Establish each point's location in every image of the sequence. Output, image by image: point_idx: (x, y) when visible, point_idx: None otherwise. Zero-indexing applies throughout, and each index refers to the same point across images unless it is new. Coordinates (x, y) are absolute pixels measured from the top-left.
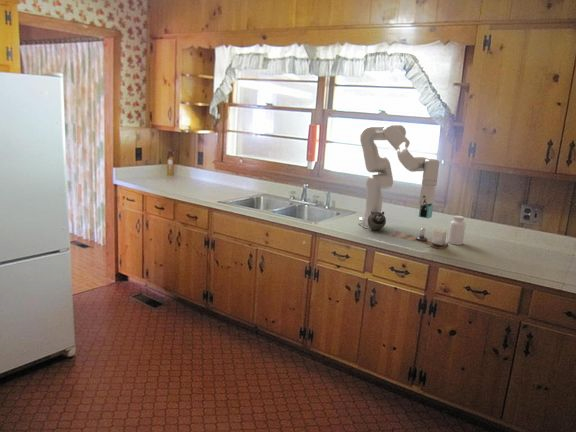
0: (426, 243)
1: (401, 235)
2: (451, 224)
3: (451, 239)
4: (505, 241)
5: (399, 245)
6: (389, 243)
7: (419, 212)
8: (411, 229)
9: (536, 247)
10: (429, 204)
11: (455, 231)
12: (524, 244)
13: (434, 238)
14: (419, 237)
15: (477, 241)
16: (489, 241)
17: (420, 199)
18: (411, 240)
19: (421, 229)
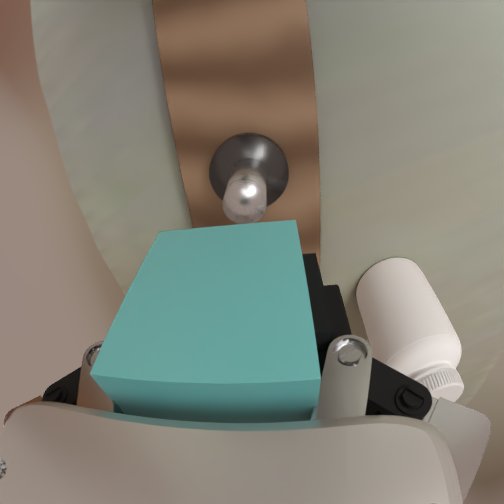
0: (207, 225)
1: (226, 26)
2: (393, 351)
3: (362, 297)
4: (499, 348)
5: (69, 141)
6: (50, 92)
7: (140, 272)
8: (472, 13)
9: (472, 391)
10: (365, 412)
11: (370, 344)
12: (487, 374)
13: None
14: (234, 166)
15: (465, 317)
16: (482, 332)
17: (2, 469)
18: (176, 137)
19: (223, 200)
